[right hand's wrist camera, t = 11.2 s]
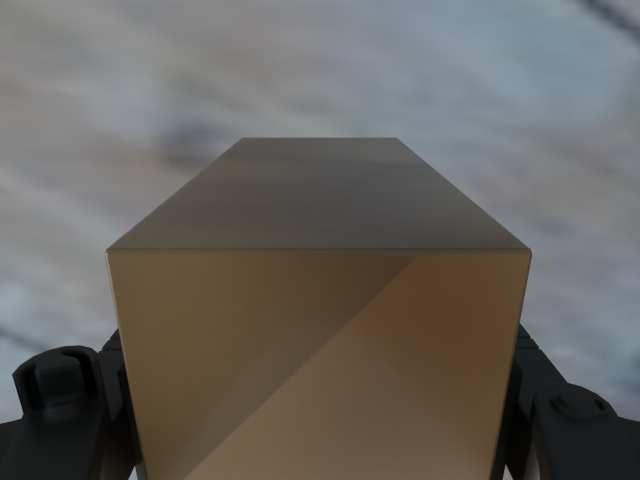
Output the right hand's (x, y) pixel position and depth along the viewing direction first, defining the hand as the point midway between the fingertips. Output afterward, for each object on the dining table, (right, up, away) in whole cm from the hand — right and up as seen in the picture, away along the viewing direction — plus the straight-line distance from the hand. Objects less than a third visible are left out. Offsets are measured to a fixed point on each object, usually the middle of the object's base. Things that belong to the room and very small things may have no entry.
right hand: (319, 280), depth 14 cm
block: (0, +1, +3) cm, 3 cm away
